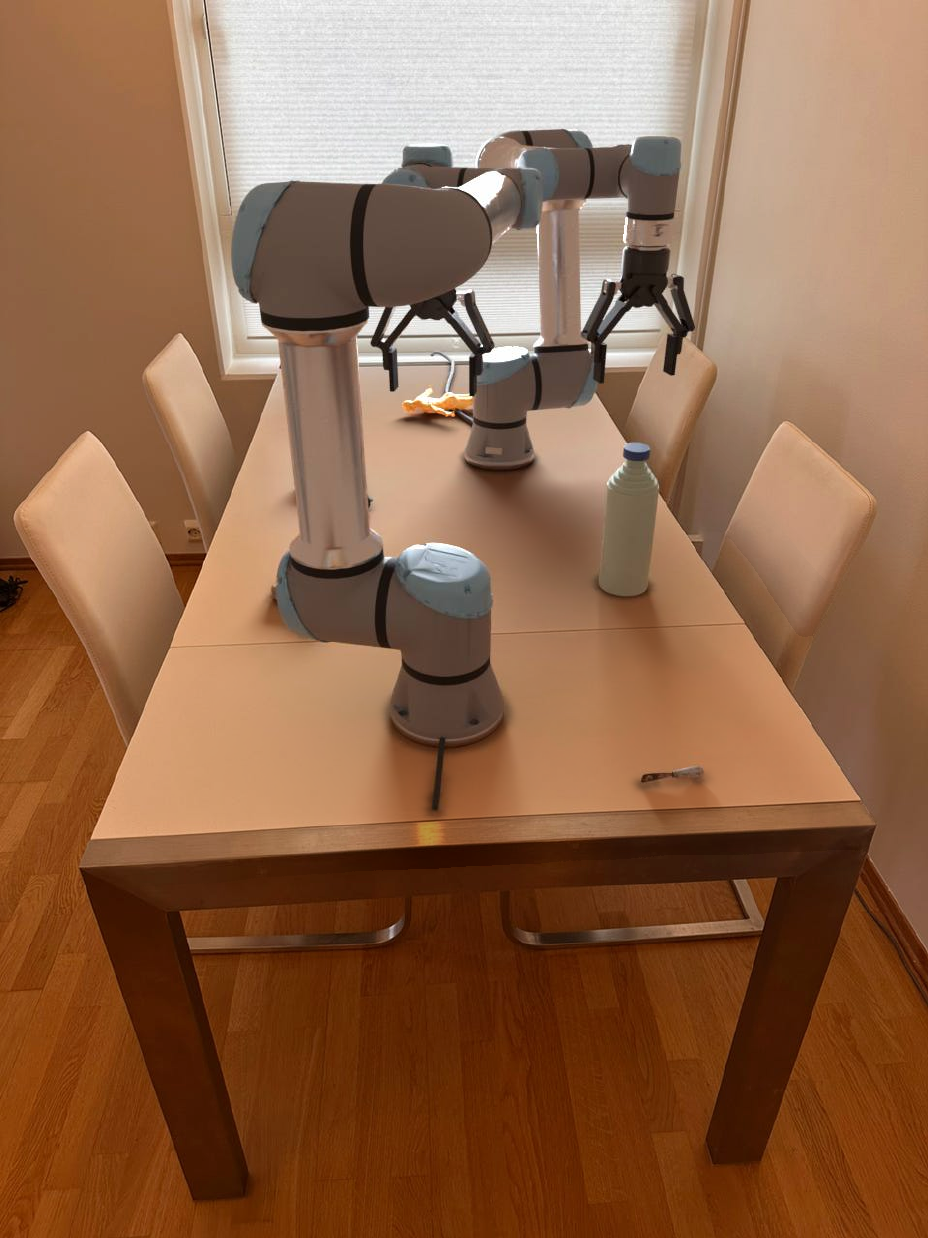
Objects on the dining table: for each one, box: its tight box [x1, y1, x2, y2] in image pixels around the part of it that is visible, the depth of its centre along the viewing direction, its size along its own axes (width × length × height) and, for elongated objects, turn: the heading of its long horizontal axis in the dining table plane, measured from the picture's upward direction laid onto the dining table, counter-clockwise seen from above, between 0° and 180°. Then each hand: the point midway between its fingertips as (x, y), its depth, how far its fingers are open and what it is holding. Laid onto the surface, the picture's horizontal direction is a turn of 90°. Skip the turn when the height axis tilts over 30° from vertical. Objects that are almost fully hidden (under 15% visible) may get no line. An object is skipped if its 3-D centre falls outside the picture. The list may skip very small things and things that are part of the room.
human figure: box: [402, 385, 473, 418], centre depth 225 cm, size 20×20×4 cm
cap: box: [622, 442, 651, 462], centre depth 138 cm, size 4×4×2 cm
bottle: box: [598, 459, 660, 597], centre depth 144 cm, size 8×8×24 cm
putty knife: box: [640, 765, 705, 784], centre depth 109 cm, size 1×8×2 cm, turn 103°
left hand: (433, 391), depth 149 cm, fingers open, 13 cm apart
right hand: (633, 377), depth 154 cm, fingers open, 13 cm apart
